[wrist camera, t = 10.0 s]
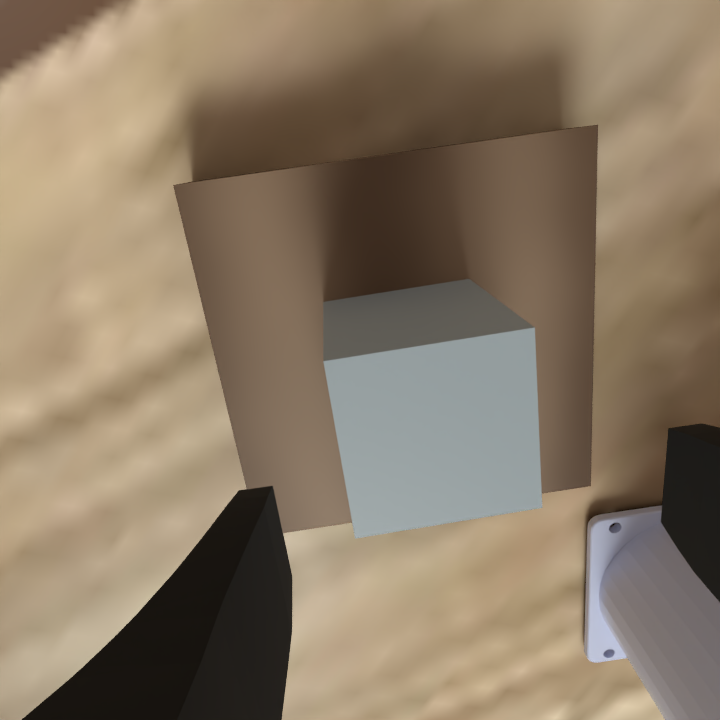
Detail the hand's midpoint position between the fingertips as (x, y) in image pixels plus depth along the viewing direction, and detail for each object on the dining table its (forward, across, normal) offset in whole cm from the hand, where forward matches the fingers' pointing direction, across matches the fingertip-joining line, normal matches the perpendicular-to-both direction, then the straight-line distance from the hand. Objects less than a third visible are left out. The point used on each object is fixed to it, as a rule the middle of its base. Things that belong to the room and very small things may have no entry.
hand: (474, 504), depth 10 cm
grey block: (+8, 0, 0) cm, 8 cm away
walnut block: (+11, 0, 0) cm, 11 cm away
